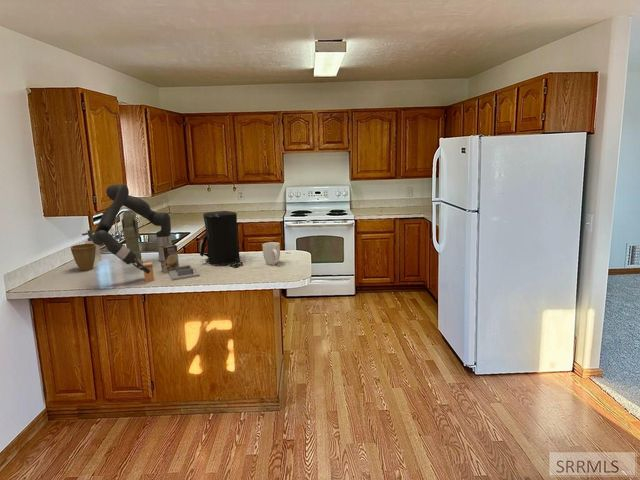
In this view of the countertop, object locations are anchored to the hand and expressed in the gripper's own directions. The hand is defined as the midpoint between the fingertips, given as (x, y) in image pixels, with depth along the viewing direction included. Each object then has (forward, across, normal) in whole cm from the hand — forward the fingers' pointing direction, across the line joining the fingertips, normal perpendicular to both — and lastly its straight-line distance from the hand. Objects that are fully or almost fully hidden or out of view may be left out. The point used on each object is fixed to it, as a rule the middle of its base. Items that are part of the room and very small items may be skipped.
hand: (148, 270), depth 279 cm
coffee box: (+14, +14, -5) cm, 20 cm away
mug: (+57, -7, -49) cm, 75 cm away
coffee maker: (+36, +14, -28) cm, 48 cm away
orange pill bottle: (+4, 0, +4) cm, 6 cm away
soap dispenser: (-19, +70, +28) cm, 78 cm away
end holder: (+18, 0, -10) cm, 21 cm away
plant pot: (-22, +48, +30) cm, 60 cm away
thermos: (0, +51, +9) cm, 52 cm away
